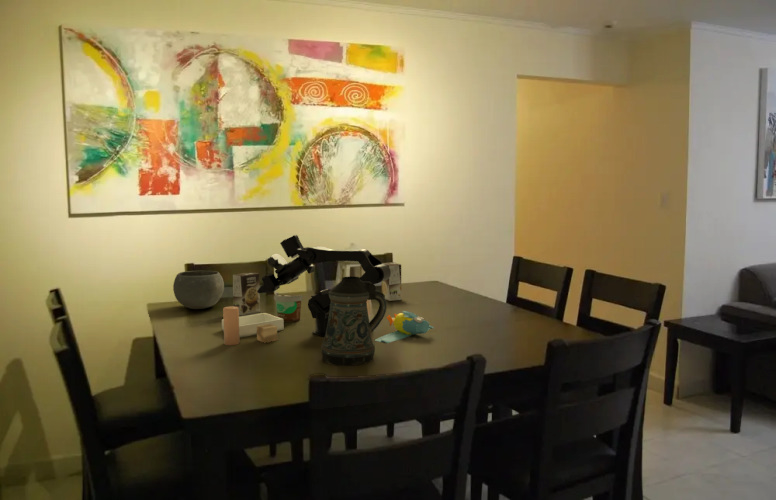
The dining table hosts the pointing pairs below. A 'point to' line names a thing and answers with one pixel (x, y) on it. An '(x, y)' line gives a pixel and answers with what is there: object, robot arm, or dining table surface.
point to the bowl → (198, 288)
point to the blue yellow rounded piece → (405, 326)
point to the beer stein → (351, 322)
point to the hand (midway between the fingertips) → (264, 289)
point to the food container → (288, 307)
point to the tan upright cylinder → (231, 325)
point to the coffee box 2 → (392, 282)
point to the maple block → (267, 333)
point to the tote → (256, 323)
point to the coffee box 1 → (246, 293)
